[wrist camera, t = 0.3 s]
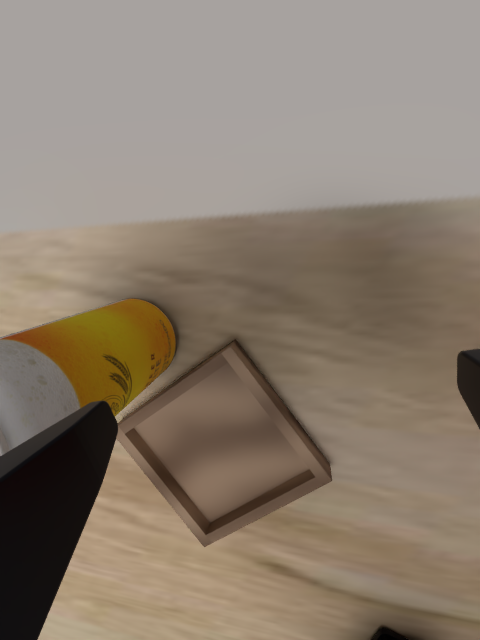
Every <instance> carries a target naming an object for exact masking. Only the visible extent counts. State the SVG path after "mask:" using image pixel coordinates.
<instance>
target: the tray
mask: <svg viewBox="0 0 480 640" xmlns="http://www.w3.org/2000/svg"><path fill="white" fill-rule="evenodd" d="M116 438H117V440H118V441H119V442H120V443H121V444H122V446H123V447H124V448H125V449H126V451H127V452H128V453H129V454H130V456H131V457H132V458H133V459H134V461H135V462H136V463H137V464H138V466H139V467H140V468H141V469H142V471H143V472H144V473H145V474H146V475H147V477H148V478H149V479H150V480H151V482H152V483H153V484H154V485H155V487H156V488H157V489H158V490H159V492H160V493H161V494H162V495H163V497H164V498H165V499H166V500H167V502H168V503H169V504H170V505H171V506H172V508H173V509H174V510H175V511H176V513H177V514H178V515H179V516H180V518H181V519H182V520H183V521H184V523H185V524H186V525H187V526H188V528H189V529H190V530H191V531H192V533H193V534H194V535H195V536H196V538H197V539H198V540H199V541H200V542H201V544H202V545H203V546H204V547H206V546H207V545H209V544H211V543H213V542H215V541H217V540H219V539H221V538H223V537H225V536H227V535H229V534H231V533H233V532H234V531H236V530H238V529H240V528H242V527H244V526H246V525H248V524H250V523H252V522H254V521H256V520H258V519H260V518H261V517H263V516H265V515H267V514H269V513H271V512H273V511H275V510H277V509H279V508H281V507H283V506H285V505H287V504H288V503H290V502H292V501H294V500H296V499H298V498H300V497H302V496H304V495H306V494H308V493H310V492H312V491H314V490H315V489H317V488H319V487H321V486H323V485H325V484H327V483H329V482H331V481H332V476H331V468H330V464H329V463H328V461H327V460H326V459H325V457H324V456H323V455H322V453H321V452H320V451H319V449H318V448H317V447H316V445H315V444H314V443H313V441H312V440H311V439H310V437H309V436H308V435H307V434H306V432H305V431H304V430H303V428H302V427H301V426H300V424H299V423H298V422H297V420H296V419H295V418H294V416H293V415H292V414H291V412H290V411H289V410H288V408H287V407H286V406H285V404H284V403H283V402H282V400H281V399H280V398H279V396H278V395H277V394H276V392H275V391H274V390H273V389H272V387H271V386H270V385H269V383H268V382H267V381H266V379H265V378H264V377H263V375H262V374H261V373H260V371H259V370H258V369H257V367H256V366H255V365H254V363H253V362H252V361H251V359H250V358H249V357H248V355H247V354H246V353H245V351H244V350H243V349H242V348H241V346H240V345H239V344H238V342H237V341H236V340H234V341H232V342H231V343H230V344H228V345H227V346H225V347H224V348H222V349H221V350H220V351H218V352H217V353H215V354H214V355H213V356H211V357H210V358H208V359H207V360H205V361H204V362H203V363H201V364H200V365H198V366H197V367H196V368H194V369H193V370H191V371H190V372H188V373H187V374H186V375H184V376H183V377H181V378H180V379H179V380H177V381H176V382H174V383H173V384H171V385H170V386H169V387H167V388H166V389H164V390H163V391H162V392H160V393H159V394H157V395H156V396H155V397H153V398H152V399H150V400H149V401H147V402H146V403H145V404H143V405H142V406H140V407H139V408H138V409H136V410H135V411H133V412H132V413H130V414H129V415H128V416H126V417H125V418H123V419H122V420H121V421H120V422H119V423H118V434H117V437H116Z"/></svg>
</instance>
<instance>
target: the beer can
mask: <svg viewBox="0 0 480 640" xmlns="http://www.w3.org/2000/svg"><path fill="white" fill-rule="evenodd" d="M175 348H176V339H175V334H174V330H173V328H172V325H171V323H170V321H169V320H168V318H167V317H166V316H165V314H164V313H163V312H162V311H161V310H160V309H158V308H157V307H156V306H154V305H153V304H151V303H149V302H146V301H144V300H140V299H124V300H121V301H117V302H114V303H111V304H107V305H104V306H101V307H98V308H94V309H91V310H88V311H85V312H81V313H78V314H75V315H72V316H68V317H65V318H62V319H59V320H55V321H52V322H49V323H46V324H42V325H39V326H36V327H33V328H29V329H26V330H23V331H20V332H16V333H13V334H10V335H7V336H3V337H0V456H2V455H3V454H5V453H7V452H8V451H10V450H12V449H13V448H15V447H17V446H18V445H20V444H22V443H23V442H25V441H27V440H28V439H30V438H32V437H33V436H35V435H37V434H38V433H40V432H42V431H43V430H45V429H47V428H48V427H50V426H52V425H53V424H55V423H57V422H58V421H60V420H62V419H64V418H65V417H67V416H69V415H70V414H72V413H74V412H75V411H77V410H79V409H80V408H82V407H84V406H85V405H87V404H89V403H91V402H95V401H103V400H104V401H106V402H108V404H109V405H110V408H111V410H112V412H113V414H114V417H115V416H116V415H117V414H118V413H119V412H120V411H121V410H122V409H124V408H125V407H126V406H127V405H128V404H129V403H130V402H131V401H132V400H133V399H134V398H135V397H137V396H138V395H139V394H140V393H141V392H142V391H143V390H144V389H145V388H146V387H147V386H148V385H150V384H151V383H152V382H153V381H154V380H155V379H156V378H157V377H158V376H159V375H160V374H161V373H163V372H164V371H165V370H166V369H167V367H168V366H169V365H170V363H171V361H172V359H173V357H174V354H175Z"/></svg>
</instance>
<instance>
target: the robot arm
mask: <svg viewBox="0 0 480 640" xmlns="http://www.w3.org/2000/svg"><path fill="white" fill-rule="evenodd" d="M457 385H458V389H459V391H460V394H461V395H462V397H463V399H464V401H465V403H466V405H467V407H468V408H469V410H470V412H471V414H472V416H473V418H474V420H475V421H476V423H477V425H478V427H479V429H480V349H474V350H466V351H461V352H460V353H459V354H458V357H457ZM117 434H118V423H117V421H116V419H115V417H114V414H113V412H112V410H111V408H110V405H109V404H108V402H106V401H104V400H103V401H95V402H91V403H89V404H87V405H85V406H84V407H82V408H80V409H79V410H77V411H75V412H74V413H72V414H70V415H69V416H67V417H65V418H64V419H62V420H60V421H58V422H57V423H55V424H53V425H52V426H50V427H48V428H47V429H45V430H43V431H42V432H40V433H38V434H37V435H35V436H33V437H32V438H30V439H28V440H27V441H25V442H23V443H22V444H20V445H18V446H17V447H15V448H13V449H12V450H10V451H8V452H7V453H5V454H3V455H2V456H0V640H37V639H38V637H39V635H40V632H41V630H42V627H43V625H44V623H45V620H46V618H47V615H48V613H49V611H50V608H51V606H52V603H53V601H54V599H55V596H56V594H57V591H58V589H59V587H60V584H61V582H62V579H63V577H64V574H65V572H66V570H67V567H68V565H69V562H70V560H71V558H72V555H73V553H74V550H75V548H76V546H77V543H78V541H79V538H80V536H81V534H82V531H83V529H84V526H85V524H86V522H87V519H88V517H89V514H90V512H91V509H92V507H93V505H94V502H95V500H96V497H97V495H98V493H99V490H100V487H101V485H102V482H103V479H104V476H105V473H106V470H107V466H108V463H109V460H110V457H111V453H112V450H113V447H114V444H115V440H116V437H117ZM372 640H408V639H406V638H404V637H402V636H400V635H398V634H396V633H394V632H392V631H390V630H388V629H386V628H382V629H380V630H379V631H378V632H377V633H376V635H375V636H374V637H373V639H372Z"/></svg>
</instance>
